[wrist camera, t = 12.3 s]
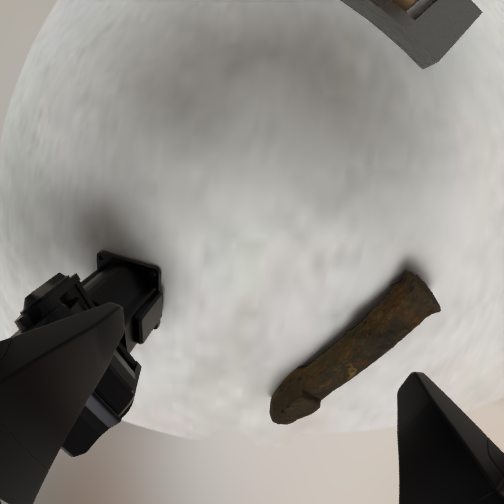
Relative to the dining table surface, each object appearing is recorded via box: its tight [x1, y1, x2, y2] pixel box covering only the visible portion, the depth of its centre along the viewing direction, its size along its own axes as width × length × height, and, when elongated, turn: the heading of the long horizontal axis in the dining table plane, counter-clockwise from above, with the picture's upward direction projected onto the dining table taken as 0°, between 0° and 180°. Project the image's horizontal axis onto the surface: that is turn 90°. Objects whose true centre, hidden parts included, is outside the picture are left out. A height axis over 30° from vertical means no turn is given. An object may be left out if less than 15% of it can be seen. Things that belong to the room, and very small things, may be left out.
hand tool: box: [270, 270, 441, 424], centre depth 21 cm, size 19×4×5 cm, turn 141°
